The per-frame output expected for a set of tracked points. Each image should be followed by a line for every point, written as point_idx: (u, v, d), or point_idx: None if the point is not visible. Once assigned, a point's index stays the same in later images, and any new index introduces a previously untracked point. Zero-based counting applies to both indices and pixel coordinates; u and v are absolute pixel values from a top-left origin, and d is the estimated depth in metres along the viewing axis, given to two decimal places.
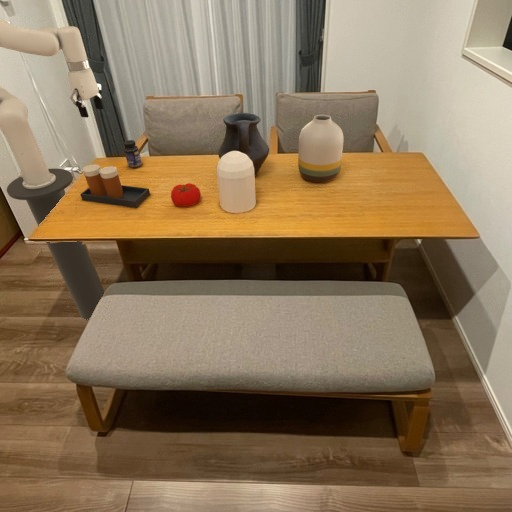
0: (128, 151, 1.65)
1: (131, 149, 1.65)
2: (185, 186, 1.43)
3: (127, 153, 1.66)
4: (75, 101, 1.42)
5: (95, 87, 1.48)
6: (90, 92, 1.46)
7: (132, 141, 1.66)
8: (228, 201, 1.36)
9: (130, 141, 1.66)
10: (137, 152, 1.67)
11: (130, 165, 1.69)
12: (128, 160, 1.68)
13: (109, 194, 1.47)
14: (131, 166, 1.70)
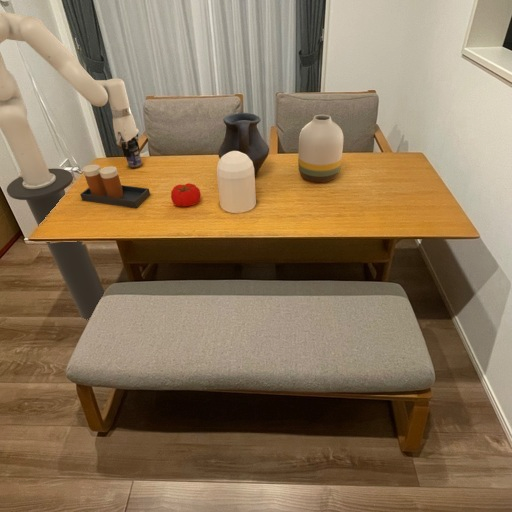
0: None
1: (131, 149, 1.65)
2: (185, 186, 1.43)
3: None
4: (121, 145, 1.60)
5: (135, 129, 1.64)
6: (131, 134, 1.62)
7: (132, 141, 1.66)
8: (228, 201, 1.36)
9: (130, 141, 1.66)
10: (137, 152, 1.67)
11: (130, 165, 1.69)
12: (128, 160, 1.68)
13: (109, 194, 1.47)
14: (131, 166, 1.70)
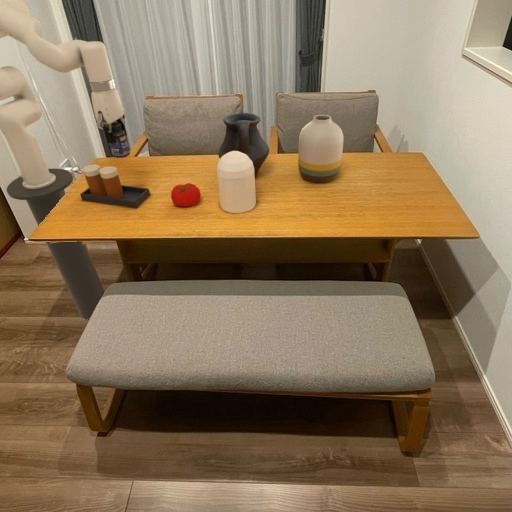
0: None
1: (116, 133, 1.32)
2: (185, 186, 1.43)
3: None
4: (102, 127, 1.27)
5: (120, 108, 1.32)
6: (115, 114, 1.29)
7: (117, 123, 1.33)
8: (228, 201, 1.36)
9: (115, 124, 1.33)
10: (124, 137, 1.35)
11: (115, 154, 1.36)
12: (112, 147, 1.35)
13: (109, 194, 1.47)
14: (116, 155, 1.37)
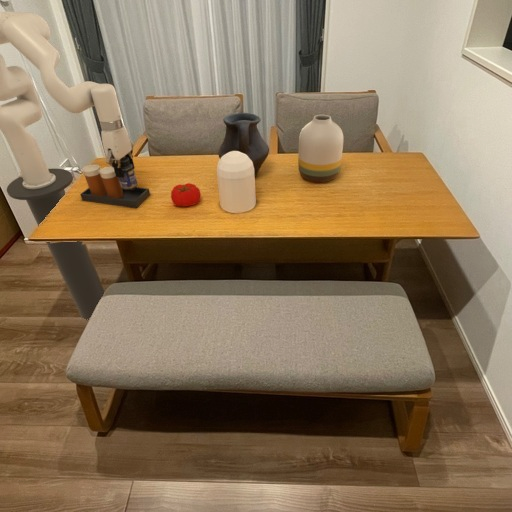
0: None
1: (124, 168, 1.38)
2: (185, 186, 1.43)
3: None
4: (111, 164, 1.32)
5: (128, 144, 1.37)
6: (124, 150, 1.35)
7: (126, 158, 1.39)
8: (228, 201, 1.36)
9: (123, 158, 1.39)
10: (132, 171, 1.40)
11: (123, 187, 1.42)
12: (121, 181, 1.41)
13: (109, 194, 1.47)
14: (125, 188, 1.42)
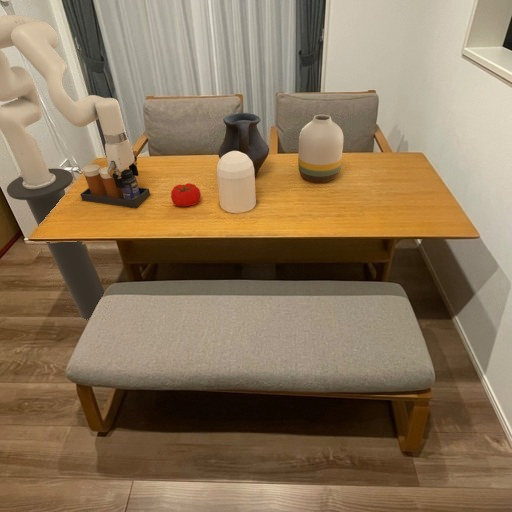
0: (124, 182, 1.41)
1: (128, 180, 1.41)
2: (185, 186, 1.43)
3: None
4: (112, 174, 1.33)
5: (131, 156, 1.40)
6: (127, 162, 1.38)
7: (129, 171, 1.42)
8: (228, 201, 1.36)
9: (126, 171, 1.42)
10: (135, 183, 1.43)
11: (126, 198, 1.45)
12: (124, 192, 1.44)
13: (109, 194, 1.47)
14: (128, 199, 1.45)
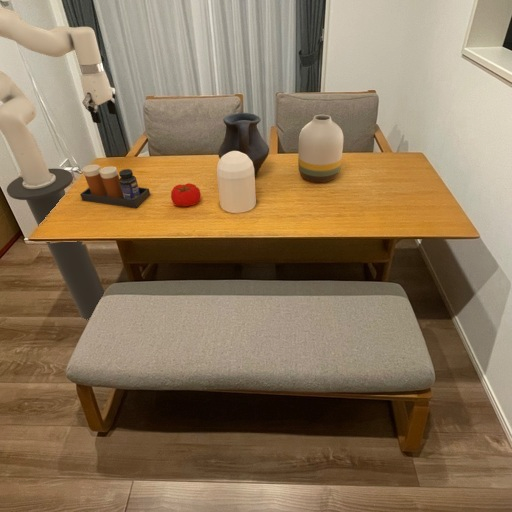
0: (124, 182, 1.41)
1: (128, 180, 1.41)
2: (185, 186, 1.43)
3: (123, 185, 1.42)
4: (87, 106, 1.34)
5: (109, 91, 1.40)
6: (103, 96, 1.38)
7: (129, 171, 1.42)
8: (228, 201, 1.36)
9: (126, 171, 1.42)
10: (135, 183, 1.43)
11: (126, 198, 1.45)
12: (124, 192, 1.44)
13: (109, 194, 1.47)
14: (128, 199, 1.45)
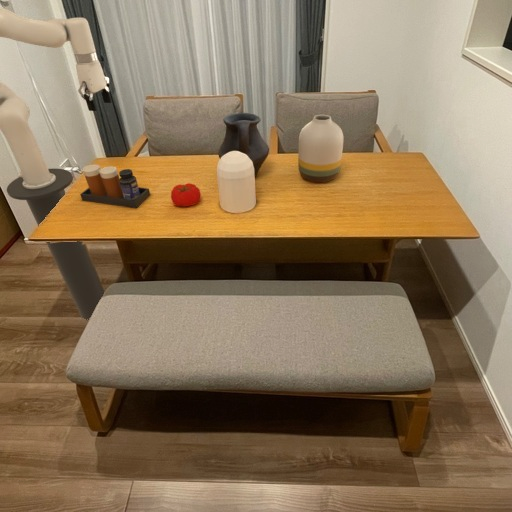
0: (124, 182, 1.41)
1: (128, 180, 1.41)
2: (185, 186, 1.43)
3: (123, 185, 1.42)
4: (83, 94, 1.40)
5: (103, 80, 1.46)
6: (98, 85, 1.44)
7: (129, 171, 1.42)
8: (228, 201, 1.36)
9: (126, 171, 1.42)
10: (135, 183, 1.43)
11: (126, 198, 1.45)
12: (124, 192, 1.44)
13: (109, 194, 1.47)
14: (128, 199, 1.45)
